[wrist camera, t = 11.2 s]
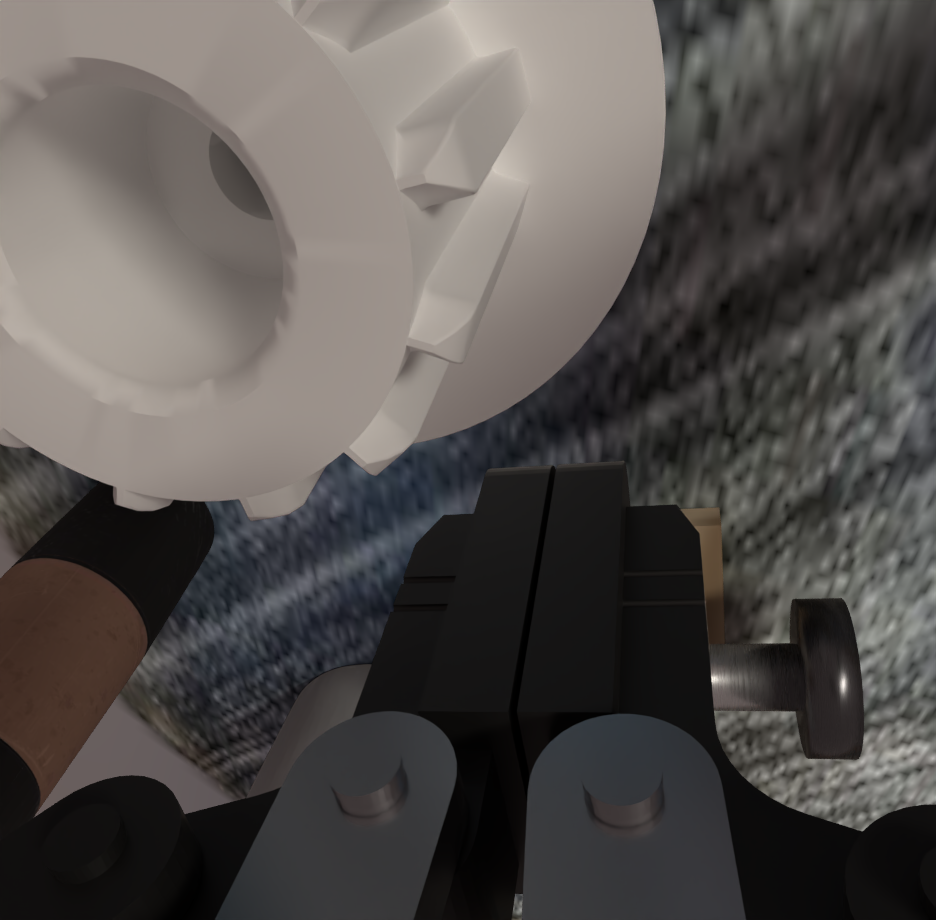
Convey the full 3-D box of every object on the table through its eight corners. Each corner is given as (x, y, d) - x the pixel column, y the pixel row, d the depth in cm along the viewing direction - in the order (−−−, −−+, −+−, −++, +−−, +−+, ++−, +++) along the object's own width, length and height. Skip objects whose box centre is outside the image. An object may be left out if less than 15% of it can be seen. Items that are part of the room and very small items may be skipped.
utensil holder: (246, 740, 60) (115, 1010, 45) (343, 614, 52) (223, 892, 37) (429, 839, 62) (361, 1126, 47) (549, 732, 54) (512, 1038, 40)
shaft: (836, 566, 40) (868, 677, 35) (830, 676, 44) (859, 794, 38) (458, 576, 45) (430, 677, 39) (481, 676, 48) (458, 782, 42)
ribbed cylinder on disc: (384, 465, 46) (244, 761, 30) (-32, 100, 39) (-493, 233, 23) (800, 107, 33) (935, 287, 18) (298, -511, 27) (-201, -1105, 11)
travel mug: (176, 590, 53) (-40, 903, 36) (70, 510, 51) (-210, 803, 34) (245, 523, 49) (39, 839, 33) (133, 435, 47) (-147, 723, 31)
